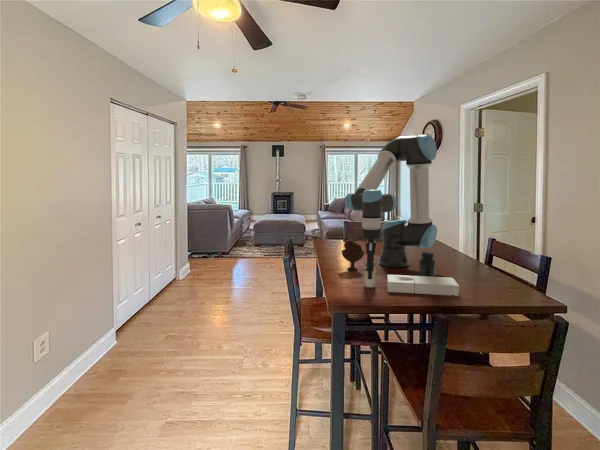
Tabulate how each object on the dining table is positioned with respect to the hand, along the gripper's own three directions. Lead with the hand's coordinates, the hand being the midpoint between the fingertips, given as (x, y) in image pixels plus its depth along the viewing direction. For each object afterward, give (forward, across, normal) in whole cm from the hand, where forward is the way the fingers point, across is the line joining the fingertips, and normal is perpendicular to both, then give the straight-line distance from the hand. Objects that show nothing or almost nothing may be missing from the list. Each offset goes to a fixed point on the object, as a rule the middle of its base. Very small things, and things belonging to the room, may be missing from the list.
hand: (370, 284), depth 154 cm
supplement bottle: (+1, -16, +24) cm, 29 cm away
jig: (+1, 0, +20) cm, 20 cm away
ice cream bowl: (+1, -28, -9) cm, 29 cm away
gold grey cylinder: (+1, 0, 0) cm, 1 cm away
